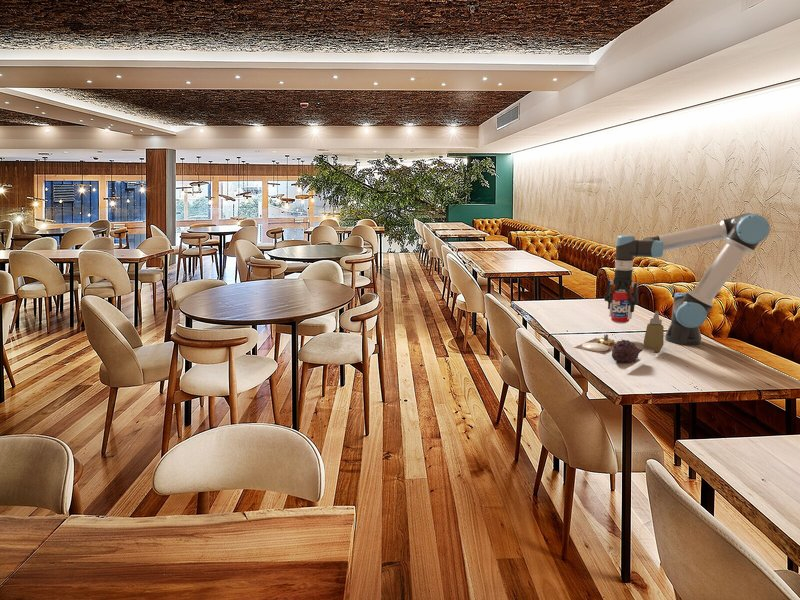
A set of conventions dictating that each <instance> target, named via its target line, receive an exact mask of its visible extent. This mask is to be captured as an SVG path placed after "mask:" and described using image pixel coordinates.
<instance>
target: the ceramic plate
mask: <svg viewBox="0 0 800 600" xmlns="http://www.w3.org/2000/svg"><path fill="white" fill-rule="evenodd" d="M581 344H582V347H583V348H584V349H586V350H590V351H589V352H591V351H597V352H603V351H608V350H609V347H608V346H607V345H604V344H600V343H585V342H584V344H583V343H581ZM586 350H585V351H586Z"/></svg>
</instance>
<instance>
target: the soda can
mask: <svg viewBox="0 0 800 600" xmlns="http://www.w3.org/2000/svg"><path fill="white" fill-rule="evenodd" d="M629 305H630V302H629V295H628V292H625V290H623V289H619V290H617V291H615V292H614V293H613V298H612V314H611V317H610V320H611V322H613V323H615V324H620V325H622V324H627V323H629V322H630V319H628V306H629Z"/></svg>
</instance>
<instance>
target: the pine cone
mask: <svg viewBox="0 0 800 600" xmlns="http://www.w3.org/2000/svg"><path fill="white" fill-rule="evenodd" d="M616 342H617V344H615V345H614V346H613V348H614V349H613V350H612V351H611V357H612V359H613V360H614V361H617V362H619V363H620V362H621V363H627V364H632V363H635V362H636V361H637V360H638V358H639V354H640V353H641V352H643V349H642V348H640V347H637V345H636V344H635V343H634V342H633V341H630V340H629V339H621V340H617V341H616Z"/></svg>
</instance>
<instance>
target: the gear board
mask: <svg viewBox="0 0 800 600" xmlns="http://www.w3.org/2000/svg"><path fill="white" fill-rule="evenodd" d="M597 338H598V337H595V338H593V339H590V340H587V341H585V342H584V343H597ZM584 343H581V344H578V345H576V346H574V347H573V348H574V349H579V350H583V351H586V352H587V351H588V352H591V353H597V354H601V355H605V356H606V355H607V354H609V353H612V350H613V349H614V348H613V346H614V345H615V344H617V341H614V345H610V346H608V347H609V350H608V351H603V352H597V351H590V350H586V349H584V348H583V347H582V344H584Z"/></svg>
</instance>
